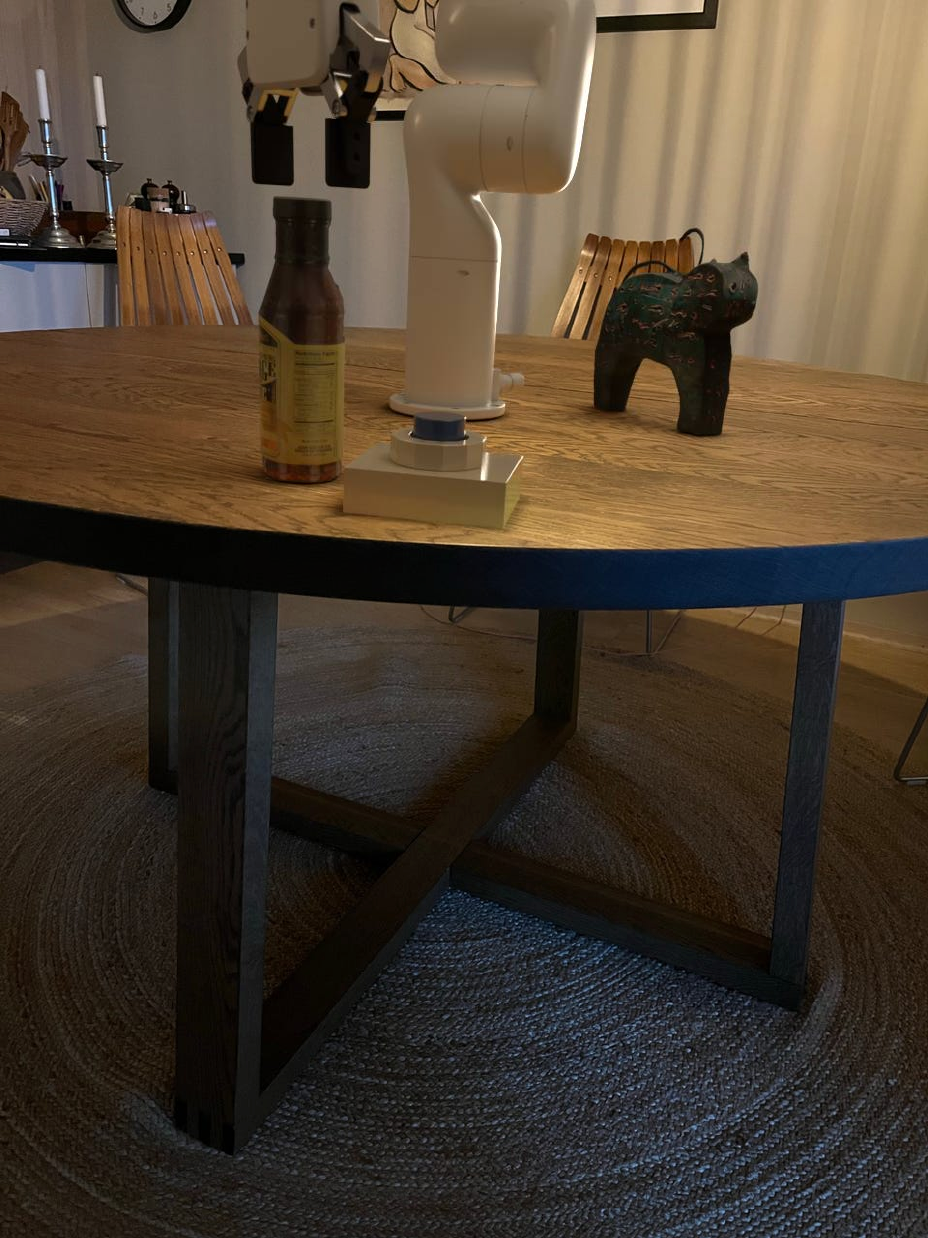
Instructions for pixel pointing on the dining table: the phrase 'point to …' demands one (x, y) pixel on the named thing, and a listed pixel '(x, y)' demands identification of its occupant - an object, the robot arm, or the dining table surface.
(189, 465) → the dining table surface
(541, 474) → the dining table surface
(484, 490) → the push button base
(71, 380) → the dining table surface
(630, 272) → the ceramic cat
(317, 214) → the sauce bottle
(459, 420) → the cylinder
